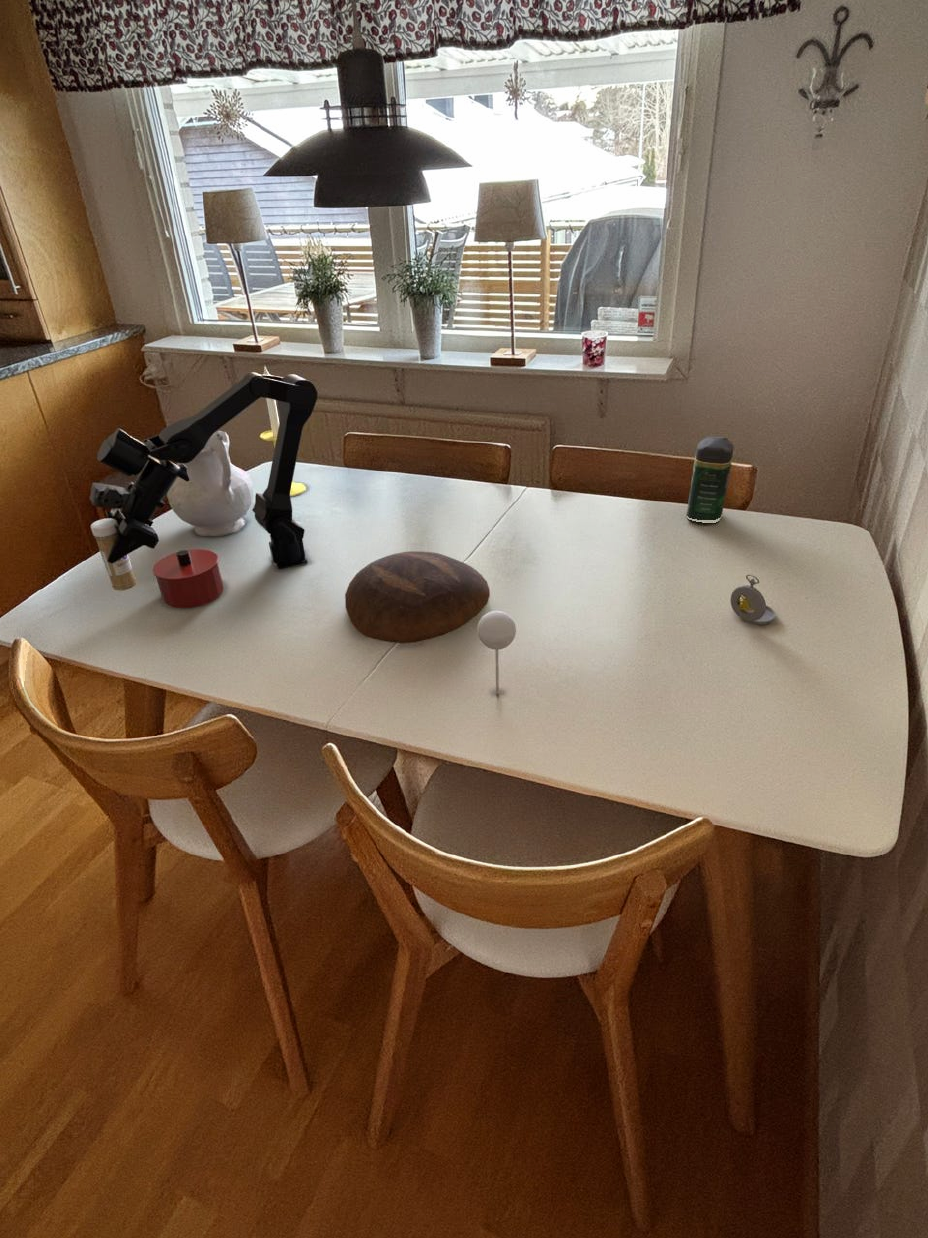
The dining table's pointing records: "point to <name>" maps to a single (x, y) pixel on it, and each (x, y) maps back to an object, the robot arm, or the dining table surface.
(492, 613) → the lollipop
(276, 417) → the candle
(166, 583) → the pot
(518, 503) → the dining table surface
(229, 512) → the ceramic pitcher
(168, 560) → the pot lid
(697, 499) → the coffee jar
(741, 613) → the pocket watch
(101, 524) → the sprinkles bottle
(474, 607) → the bread
